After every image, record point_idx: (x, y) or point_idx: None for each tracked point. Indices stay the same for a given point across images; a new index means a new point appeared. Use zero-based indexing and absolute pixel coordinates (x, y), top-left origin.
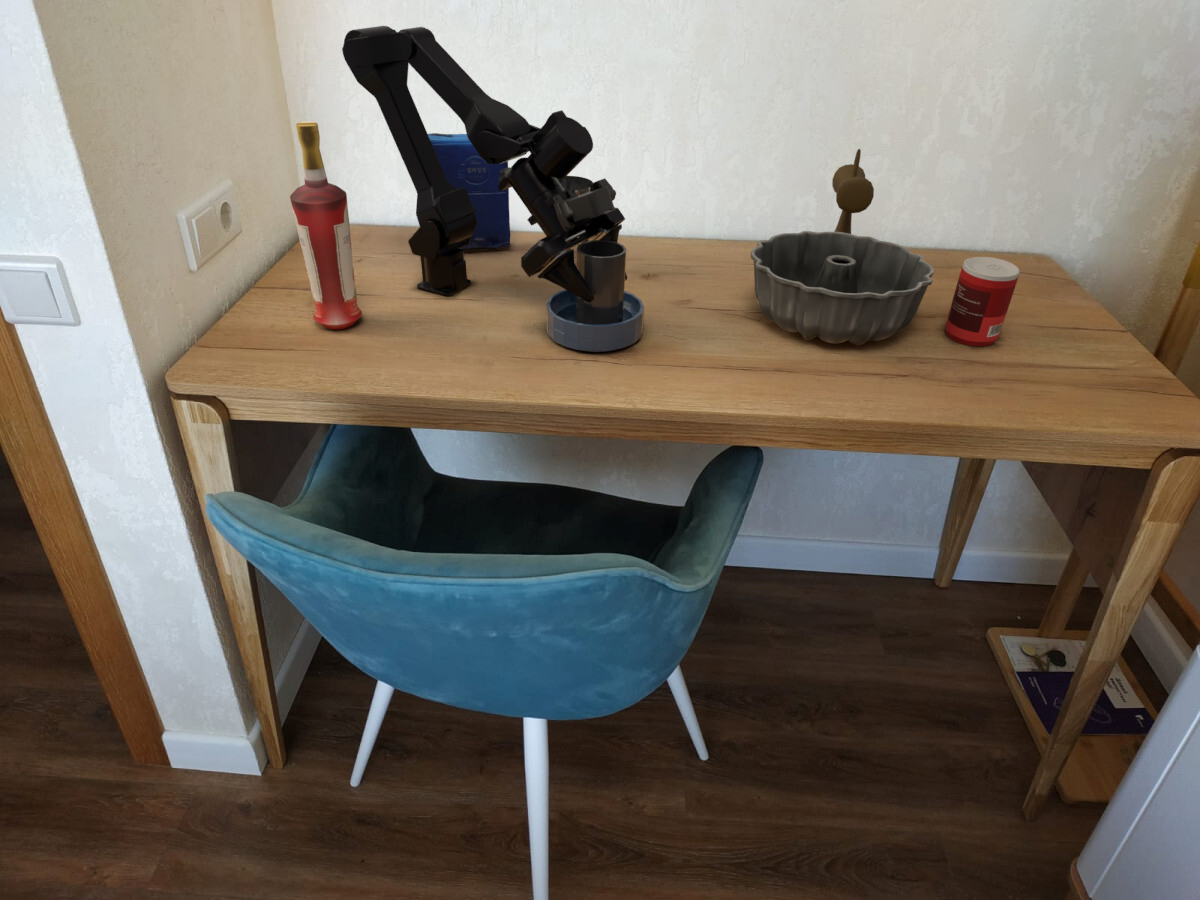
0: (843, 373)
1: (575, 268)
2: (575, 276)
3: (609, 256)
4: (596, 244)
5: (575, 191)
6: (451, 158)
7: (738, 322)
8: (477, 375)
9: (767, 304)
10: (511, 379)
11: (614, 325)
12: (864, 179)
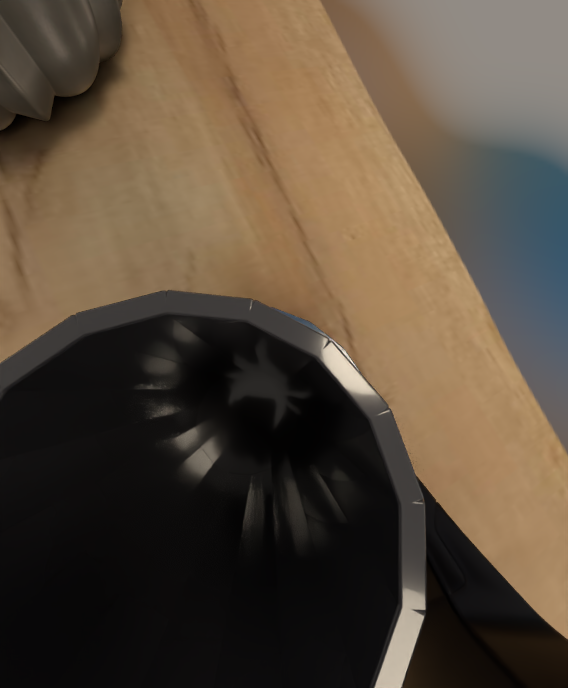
0: (199, 16)
1: (458, 575)
2: (458, 528)
3: (335, 370)
4: None
5: None
6: None
7: (65, 182)
8: (539, 562)
9: (32, 68)
10: (510, 486)
11: (333, 340)
12: None
